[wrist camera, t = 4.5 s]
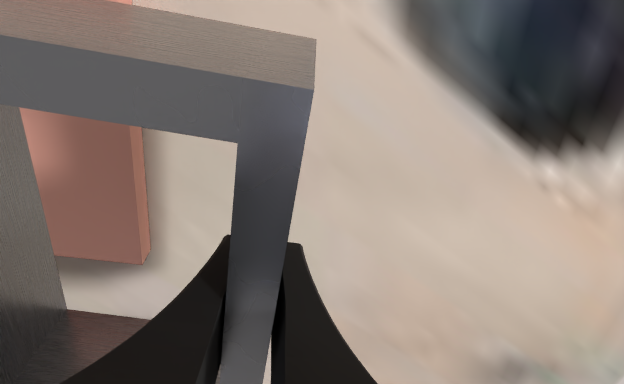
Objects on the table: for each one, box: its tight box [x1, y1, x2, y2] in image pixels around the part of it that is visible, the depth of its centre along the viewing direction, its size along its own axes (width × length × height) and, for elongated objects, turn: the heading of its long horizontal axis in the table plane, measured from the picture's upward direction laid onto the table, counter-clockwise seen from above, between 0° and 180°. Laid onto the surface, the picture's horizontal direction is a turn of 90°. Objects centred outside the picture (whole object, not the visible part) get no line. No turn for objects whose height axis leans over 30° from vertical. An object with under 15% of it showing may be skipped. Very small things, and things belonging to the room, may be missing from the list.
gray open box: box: [0, 0, 316, 384], centre depth 12 cm, size 14×10×5 cm
